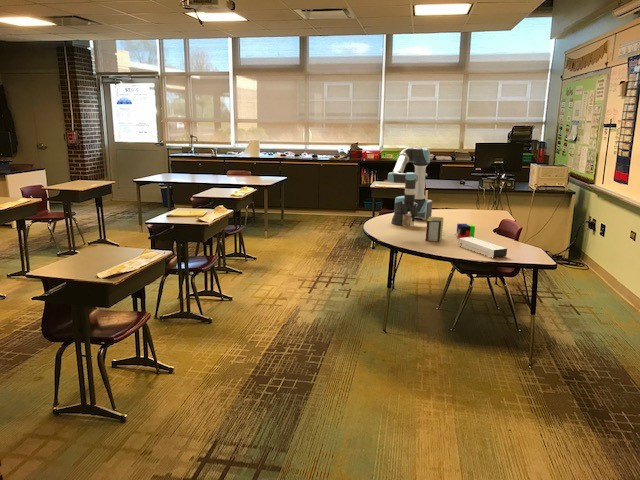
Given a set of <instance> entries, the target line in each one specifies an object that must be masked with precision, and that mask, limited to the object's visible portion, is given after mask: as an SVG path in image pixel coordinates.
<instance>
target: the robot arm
mask: <svg viewBox="0 0 640 480" xmlns="http://www.w3.org/2000/svg"><path fill="white" fill-rule="evenodd" d="M408 163H413V164H412V165H413V166H414V172H413V171H412V172H405V173H404V171H405V169H406V166H407V164H408ZM430 163H431V152H430V149H429V148H428V147H406V148H403V149H402V150H401V151H400V152H399V153H398V154H397V157H396V163H395V166H394V168H393V169H392V172H391V171H390V172H388V174H387V182H388V183H392V184H404V195H401V196H396V197H395V199H394V211H393V212H394V213H393V216H392V219H391V224H392V225H396V226H398V225H399V226H403V225H402V221H403V215H404V214H407V213H408V214H409V212H411V216H412V217H411V221H410V227H413V226H414V225H413V221H414V222H415V219H416V218H415V217H416V216H417V213H424V212H425V210H426V206H427V201H428V200H429V199H428V198H427V196H426V195H425V185H426V170H427V169H426V168H427V167H428V166H429V164H430ZM427 199H428V200H427Z"/></svg>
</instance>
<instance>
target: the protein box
mask: <svg viewBox="0 0 640 480" xmlns="http://www.w3.org/2000/svg"><path fill="white" fill-rule="evenodd" d="M443 227H444V217H441V216H439V217H438V216H431V217H429V218H428V220H427V221H426V227H425V228H426V232H425V241H426V242H437V243H440V242H441V240H442V237H443V230H444V229H443Z"/></svg>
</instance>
